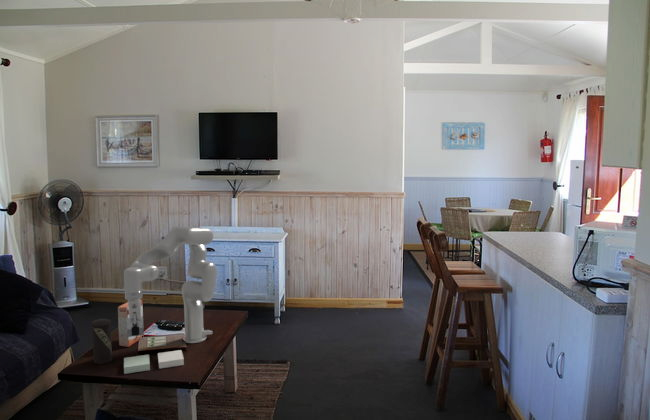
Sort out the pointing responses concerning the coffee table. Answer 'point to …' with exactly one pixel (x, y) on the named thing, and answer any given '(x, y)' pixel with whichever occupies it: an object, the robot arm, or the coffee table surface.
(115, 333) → the coffee table surface
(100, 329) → the container
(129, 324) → the housing
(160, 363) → the stand
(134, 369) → the stand
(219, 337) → the coffee table surface
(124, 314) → the cracker box
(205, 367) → the coffee table surface
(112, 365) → the coffee table surface
